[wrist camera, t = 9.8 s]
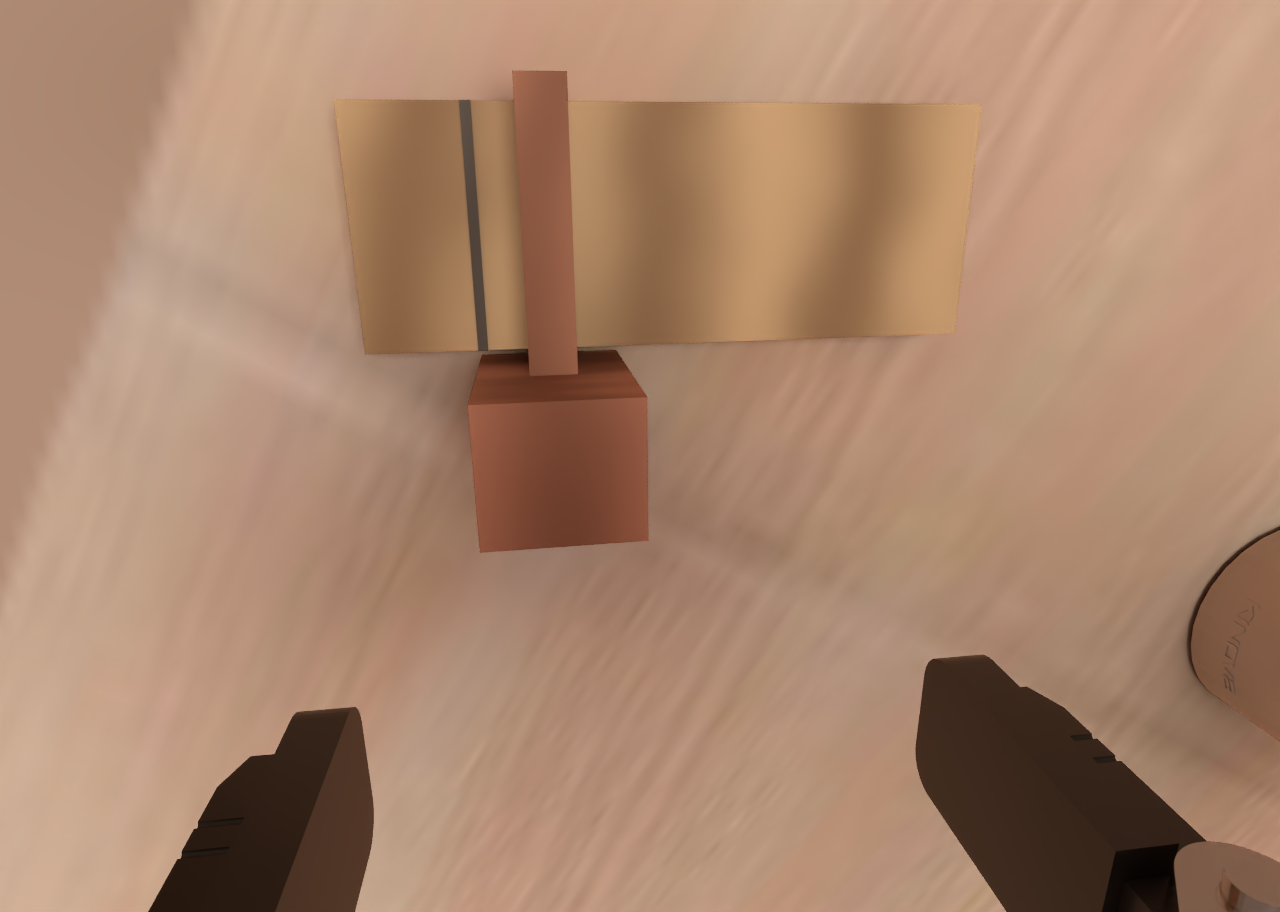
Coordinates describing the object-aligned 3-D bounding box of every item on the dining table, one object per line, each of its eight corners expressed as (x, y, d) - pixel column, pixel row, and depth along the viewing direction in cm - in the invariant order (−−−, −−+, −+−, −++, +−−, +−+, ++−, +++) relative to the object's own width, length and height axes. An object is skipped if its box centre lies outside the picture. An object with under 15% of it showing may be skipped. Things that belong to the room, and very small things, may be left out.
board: (947, 112, 25) (983, 104, 23) (924, 324, 27) (956, 333, 25) (349, 108, 23) (332, 99, 21) (377, 343, 25) (364, 354, 23)
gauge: (610, 93, 24) (644, 47, 17) (618, 477, 27) (648, 562, 21) (462, 91, 23) (437, 43, 16) (492, 485, 27) (481, 574, 20)
